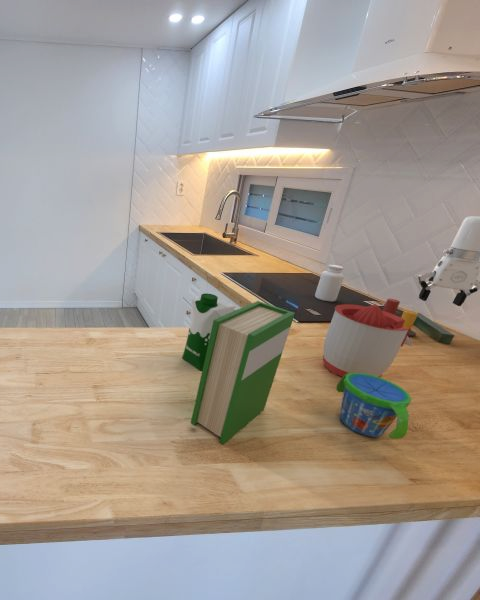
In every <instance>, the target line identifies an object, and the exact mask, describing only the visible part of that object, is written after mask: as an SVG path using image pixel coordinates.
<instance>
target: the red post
mask: <svg viewBox="0 0 480 600" xmlns="http://www.w3.org/2000/svg"><path fill="white" fill-rule="evenodd" d="M400 303H401V301H400V300H398V299H395V298H387V299H386V301H385V304H384V306H383V308H382V311H385V312H388V313H391V314H394V315H396V312H397V309H398V307H399V306H400Z"/></svg>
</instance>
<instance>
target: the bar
mask: <svg viewBox="0 0 480 600" xmlns="http://www.w3.org/2000/svg"><path fill="white" fill-rule="evenodd" d="M417 313H418V315H417V317H416V319H415V322H414V324H413V326H415V327H416V328H418V329H419V330H420V331H422V332H423V333H424V334H426V335H427V336H428V337H430V338H431V339H432V340H434V341H435V342H436V343H440V344H446V345H451V343H452V341H453V339H454V337H455V334H454V333H452V332H451V331H449V330H447V329H445V328H444V327H443V326H441V325H439V324H438V323H437V322H435V321H433V320H432V319H430V318H429V317H427V316H425V315H424V314H423V313H421V312H417Z"/></svg>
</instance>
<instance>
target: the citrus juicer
mask: <svg viewBox="0 0 480 600" xmlns="http://www.w3.org/2000/svg"><path fill="white" fill-rule="evenodd" d="M404 322H405V320H404V319H403V318H401V316H398V315H396V314H391V313H388V312H385V311H383V309H381V308H380V306H379V305H377V304H372V305H368V306H366V305H365V306H364V305H358V304H346V303H345V304H342V303H341V304H338V305H335V307H334V313H333V316H332V318H331V321H330V324H329V326H328V329H327V331H326V334H325V338H324V341H323V348H322V350H323V351H322V353H323V354H322V360H323V365H324V366H325V368H327V369H328V371H330V372H331V373H332V374H335V375H338V376H340V377H341V378H342V377H343V376H344V375H345V374H348V373H364V374H369V375H373V376H376V377H380V378H381V377H382V376H383V374H385V372H386V371H388V369H389V368H390V367H391V366H392V364H393V363H394V361H395V359H396V357H397V355H398V354H399V351H400V349H401V347H404V345H407V346H410V347H413V341H412V340H410V337H408V336H407V335H408V333H409V331H410V329H411V330H412V328H402V327H403V324H404Z"/></svg>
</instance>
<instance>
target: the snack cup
mask: <svg viewBox="0 0 480 600" xmlns="http://www.w3.org/2000/svg"><path fill="white" fill-rule="evenodd" d="M335 389H336V391H337V392H338V393H342V399H341V405H340V411H339V420H340V421H341V422H342V423H343V424H344V426H346V427H348V428H349V429H350V430H351V431H352V432H356V433H358V434H360V435H364V436H366V437H371V438H377V437H380V436H383V435H384V434H385V432H386V431H387V430H388V429H389V427H390V426H391V425H392V424H393V423H394V421H395V420H396V423H395V424H396V425H395V428H394V429H393V430H392V431H391V432H390V433H389V434H388V437H389V439H392V440H399V439H400V440H401V439H402V438H404V437H405V436H406V435H407V432H408V428H409V418H410V417H409V410H408V406H409V405H410V404H411V401H412V397H411V395H410V394H409V393H408V392H407V391H406V390H405V389H404V388H402V387H401V386H399V385H398V384H396V383H394V382H392V381H390V380H387V379H385V378H382V377H381V376H380V377H376V376H373V375H369V374H364V373H348V374H345V375H344V376H343V377H342V376H341V378H340V380H339V381H338V383H337V385H336V388H335Z"/></svg>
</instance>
